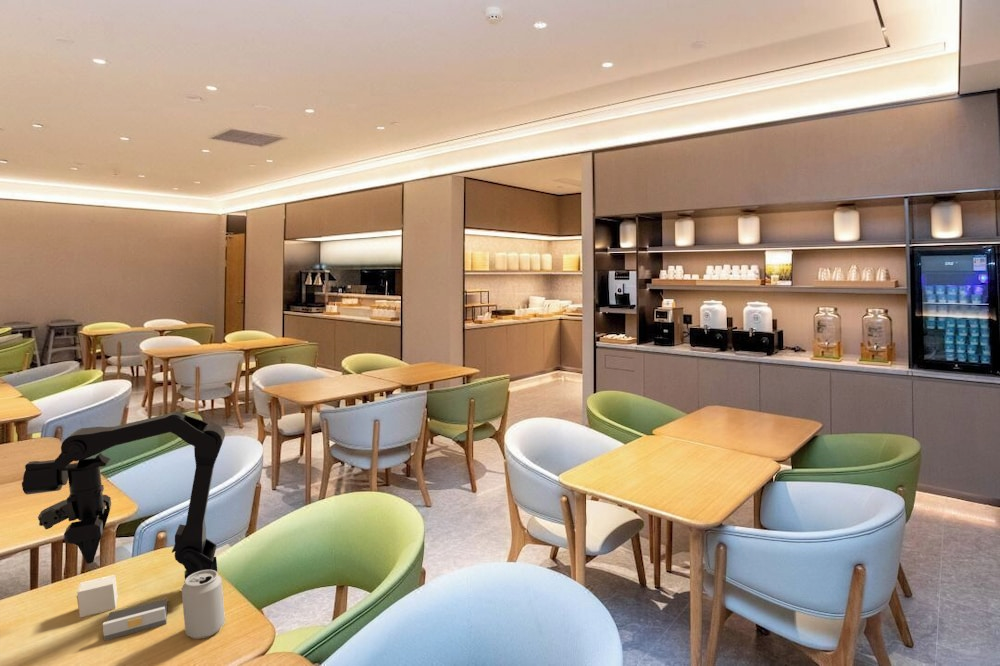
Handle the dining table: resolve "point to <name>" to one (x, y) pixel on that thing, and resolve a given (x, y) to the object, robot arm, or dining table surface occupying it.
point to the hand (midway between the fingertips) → (93, 553)
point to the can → (203, 604)
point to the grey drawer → (135, 619)
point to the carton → (97, 595)
